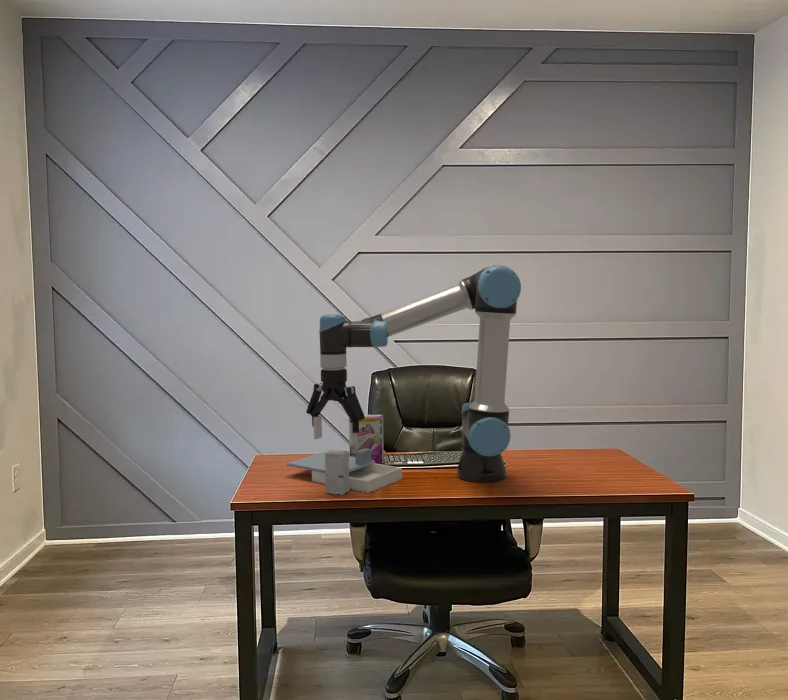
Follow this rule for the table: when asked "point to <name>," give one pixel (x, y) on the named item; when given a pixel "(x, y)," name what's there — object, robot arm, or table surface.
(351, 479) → the white shallow tray
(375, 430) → the candy bar box
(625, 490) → the table surface
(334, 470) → the skincare box
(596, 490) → the table surface
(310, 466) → the lid
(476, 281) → the robot arm
